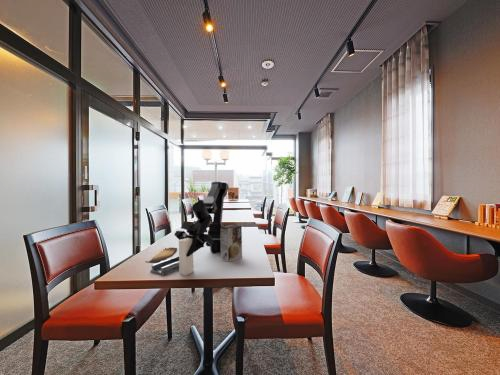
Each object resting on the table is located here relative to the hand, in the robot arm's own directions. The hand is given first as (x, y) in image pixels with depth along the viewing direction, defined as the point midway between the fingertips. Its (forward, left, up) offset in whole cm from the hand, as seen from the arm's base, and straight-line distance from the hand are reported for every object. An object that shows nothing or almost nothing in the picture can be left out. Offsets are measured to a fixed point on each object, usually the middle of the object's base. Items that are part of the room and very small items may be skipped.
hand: (183, 255), depth 97 cm
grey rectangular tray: (+3, -9, -8) cm, 13 cm away
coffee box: (-25, -10, -8) cm, 28 cm away
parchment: (+5, -31, -8) cm, 33 cm away
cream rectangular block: (-1, -1, -8) cm, 8 cm away
